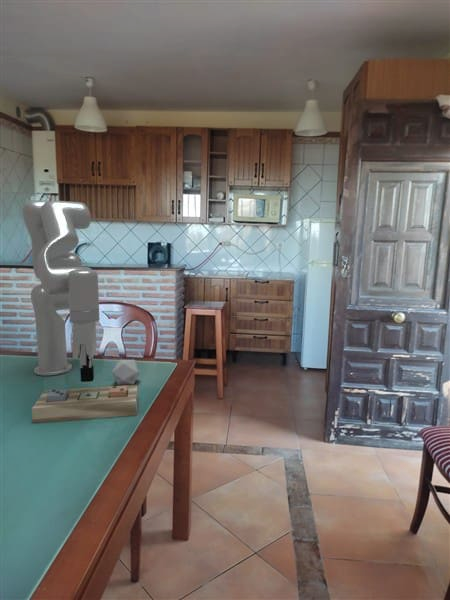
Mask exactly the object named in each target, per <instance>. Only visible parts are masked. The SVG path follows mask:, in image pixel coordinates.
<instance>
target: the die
mask: <svg viewBox="0 0 450 600" xmlns="http://www.w3.org/2000/svg"><path fill="white" fill-rule="evenodd" d="M111 374H112V376H113V378H114V379H115V382H116V384H117V386H125V385H127V386H130V385H135V383H136V381H137V379H138V378H139V376H140V374H141V371H140V368H139V366H138V364H137V361H136V360H135V359H119V360H118V361H117V363H116V364H115V366H114V367H113V369H112V371H111Z"/></svg>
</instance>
